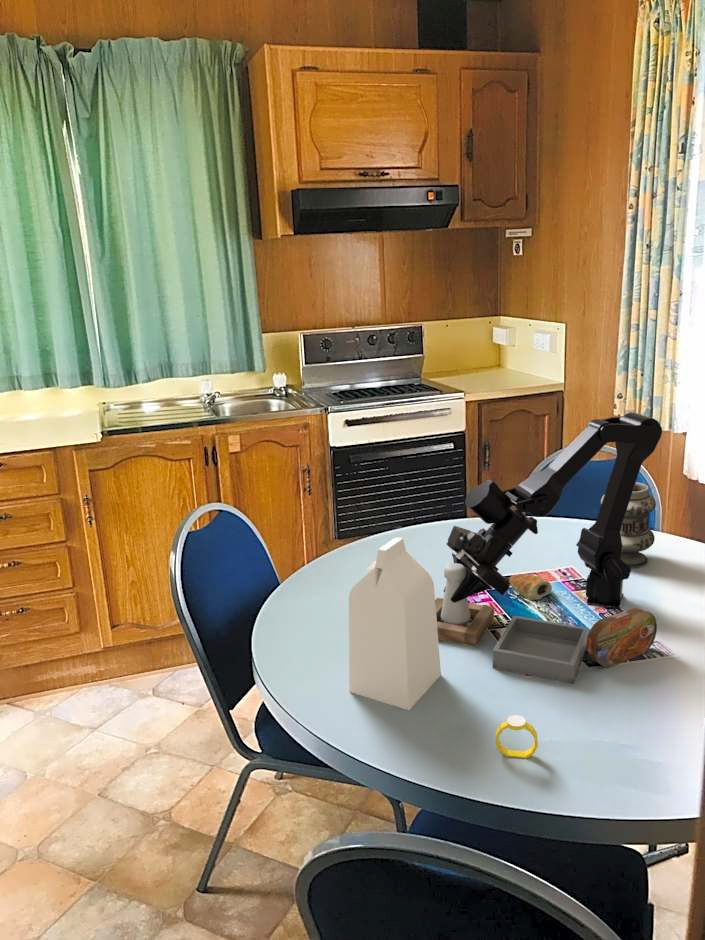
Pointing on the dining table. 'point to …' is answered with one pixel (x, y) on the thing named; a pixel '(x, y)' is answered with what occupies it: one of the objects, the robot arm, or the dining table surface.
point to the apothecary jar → (637, 527)
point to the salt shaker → (450, 610)
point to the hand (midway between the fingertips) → (448, 597)
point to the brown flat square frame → (462, 634)
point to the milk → (393, 630)
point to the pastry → (530, 586)
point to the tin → (621, 636)
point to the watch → (516, 724)
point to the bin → (541, 649)
